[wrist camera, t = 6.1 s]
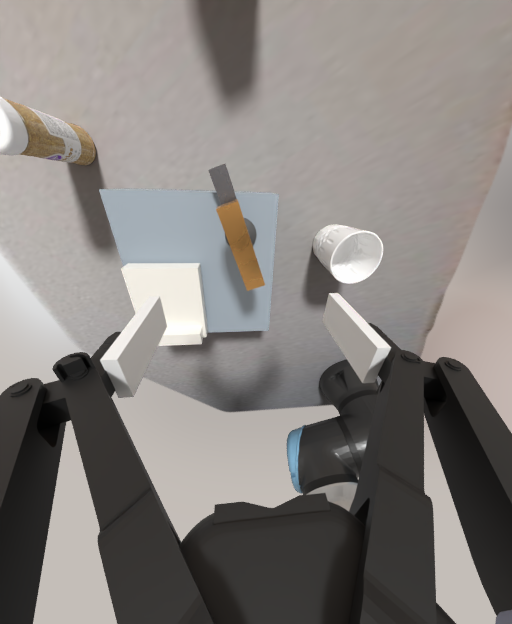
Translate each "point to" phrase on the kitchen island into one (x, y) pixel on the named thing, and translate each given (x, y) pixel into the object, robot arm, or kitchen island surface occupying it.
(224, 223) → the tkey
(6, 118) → the sprinkles bottle
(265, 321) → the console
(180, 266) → the cover
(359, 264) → the white cup
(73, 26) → the kitchen island surface
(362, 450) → the robot arm
